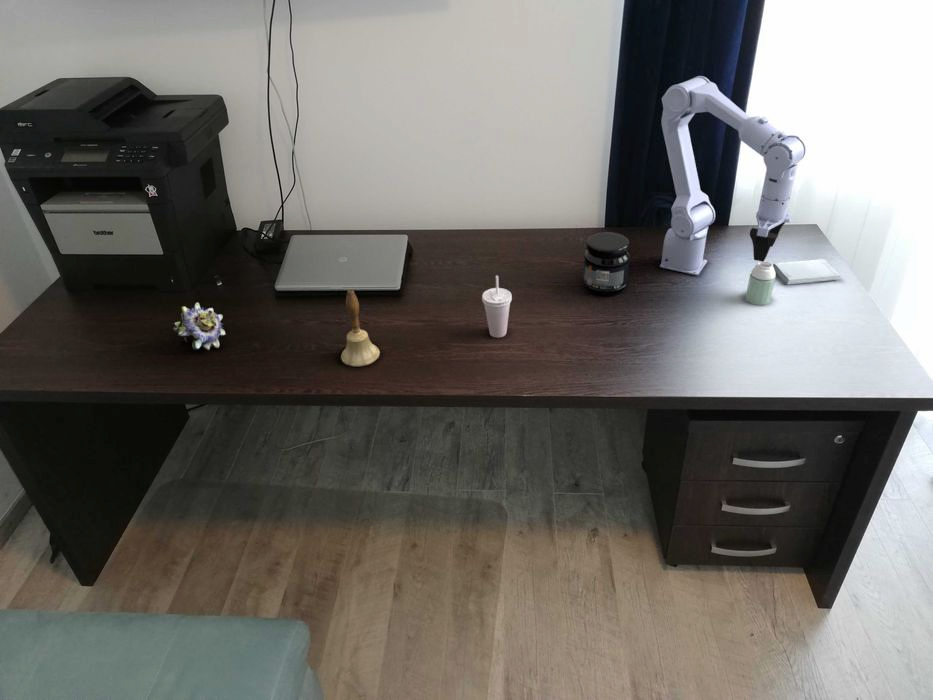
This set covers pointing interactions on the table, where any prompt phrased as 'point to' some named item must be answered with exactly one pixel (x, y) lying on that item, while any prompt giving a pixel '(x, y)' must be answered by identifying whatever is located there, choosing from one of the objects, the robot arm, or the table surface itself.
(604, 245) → the supplement container
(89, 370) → the table surface
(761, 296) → the cup
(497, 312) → the smoothie
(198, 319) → the passion flower
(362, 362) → the hand bell
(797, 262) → the hard drive
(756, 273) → the white jar
